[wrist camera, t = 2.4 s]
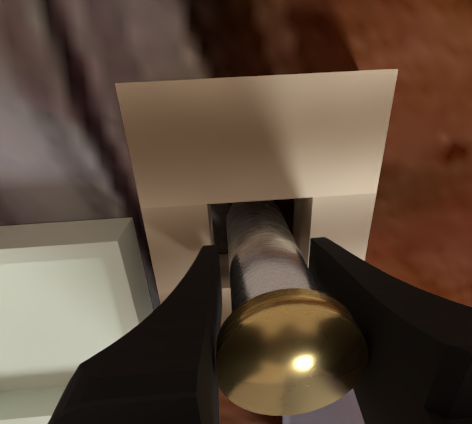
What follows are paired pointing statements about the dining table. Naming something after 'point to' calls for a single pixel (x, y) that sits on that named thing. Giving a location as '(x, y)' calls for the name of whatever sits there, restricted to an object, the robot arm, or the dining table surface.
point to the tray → (63, 306)
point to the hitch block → (255, 158)
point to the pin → (281, 323)
